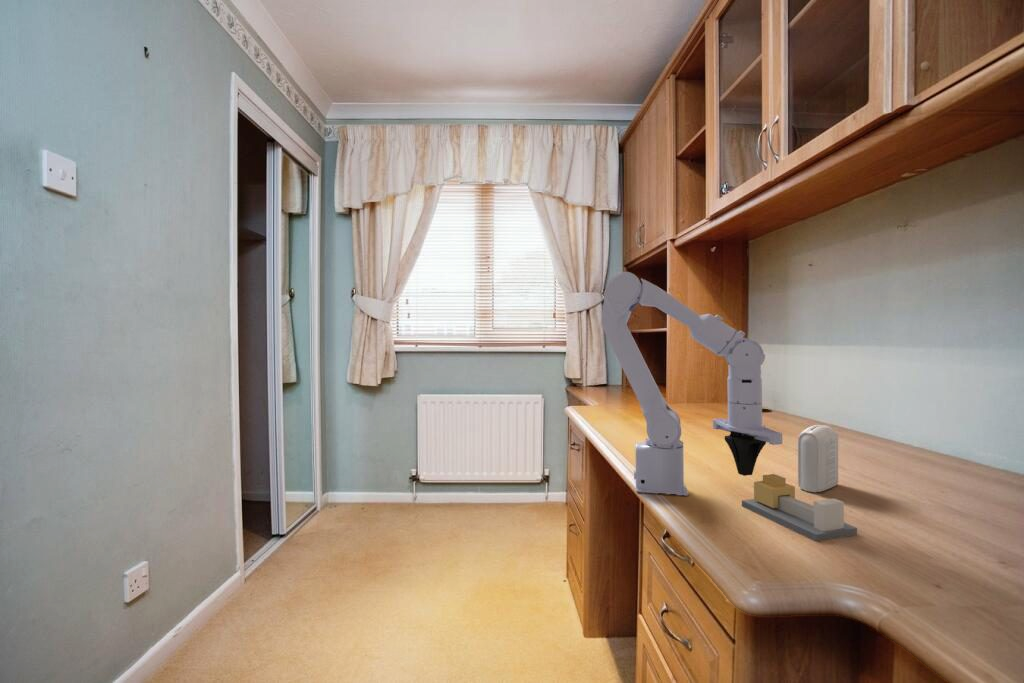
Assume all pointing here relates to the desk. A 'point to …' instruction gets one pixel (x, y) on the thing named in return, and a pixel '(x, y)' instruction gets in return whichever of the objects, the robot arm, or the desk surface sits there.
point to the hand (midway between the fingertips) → (745, 474)
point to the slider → (772, 490)
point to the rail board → (797, 522)
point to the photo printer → (818, 458)
